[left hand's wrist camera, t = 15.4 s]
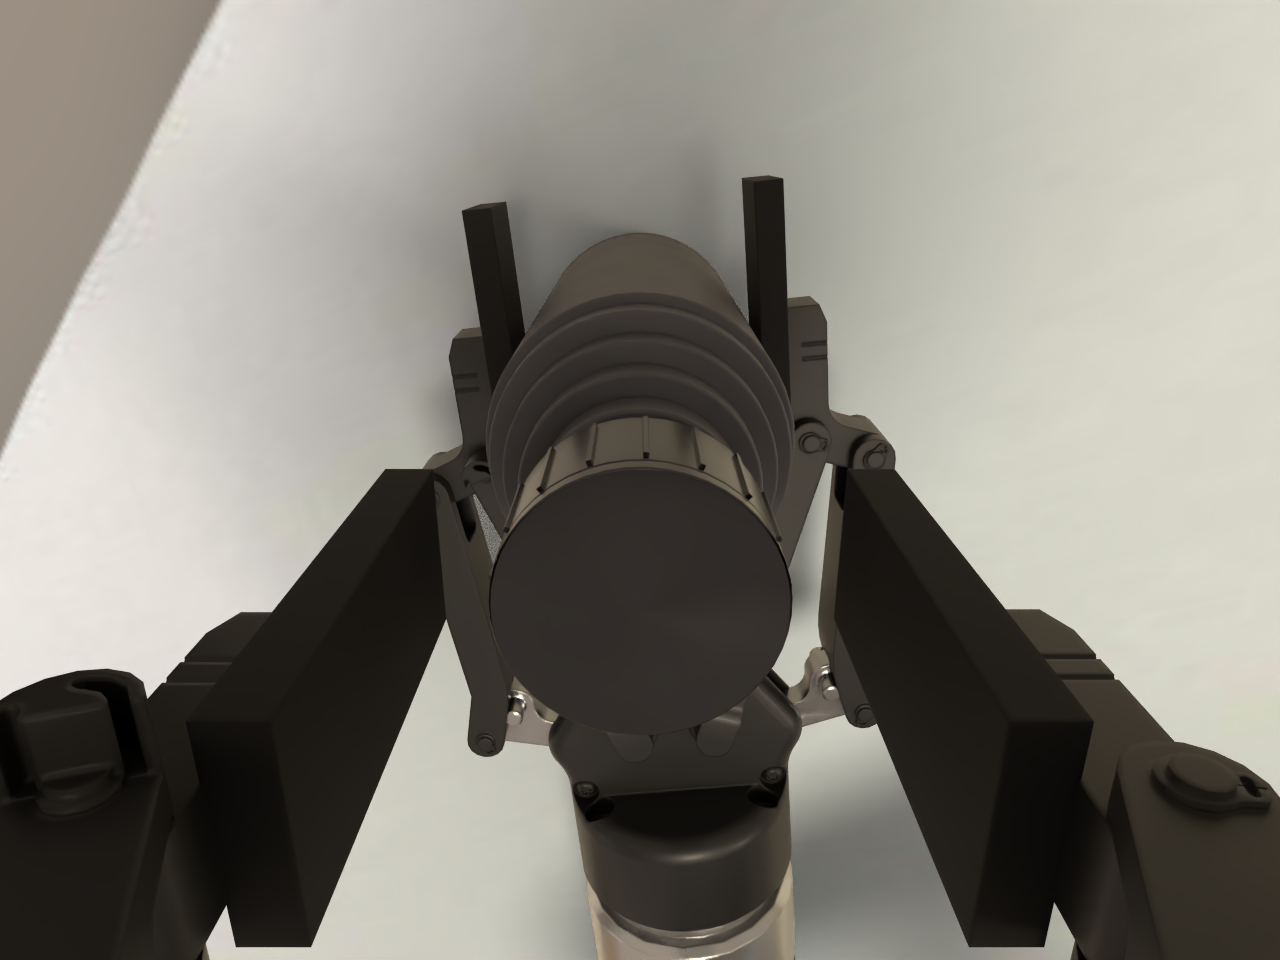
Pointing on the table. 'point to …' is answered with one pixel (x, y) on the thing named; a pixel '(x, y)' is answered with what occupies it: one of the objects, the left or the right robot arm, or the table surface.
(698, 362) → the bottle
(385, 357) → the table surface
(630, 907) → the right robot arm
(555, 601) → the cap
